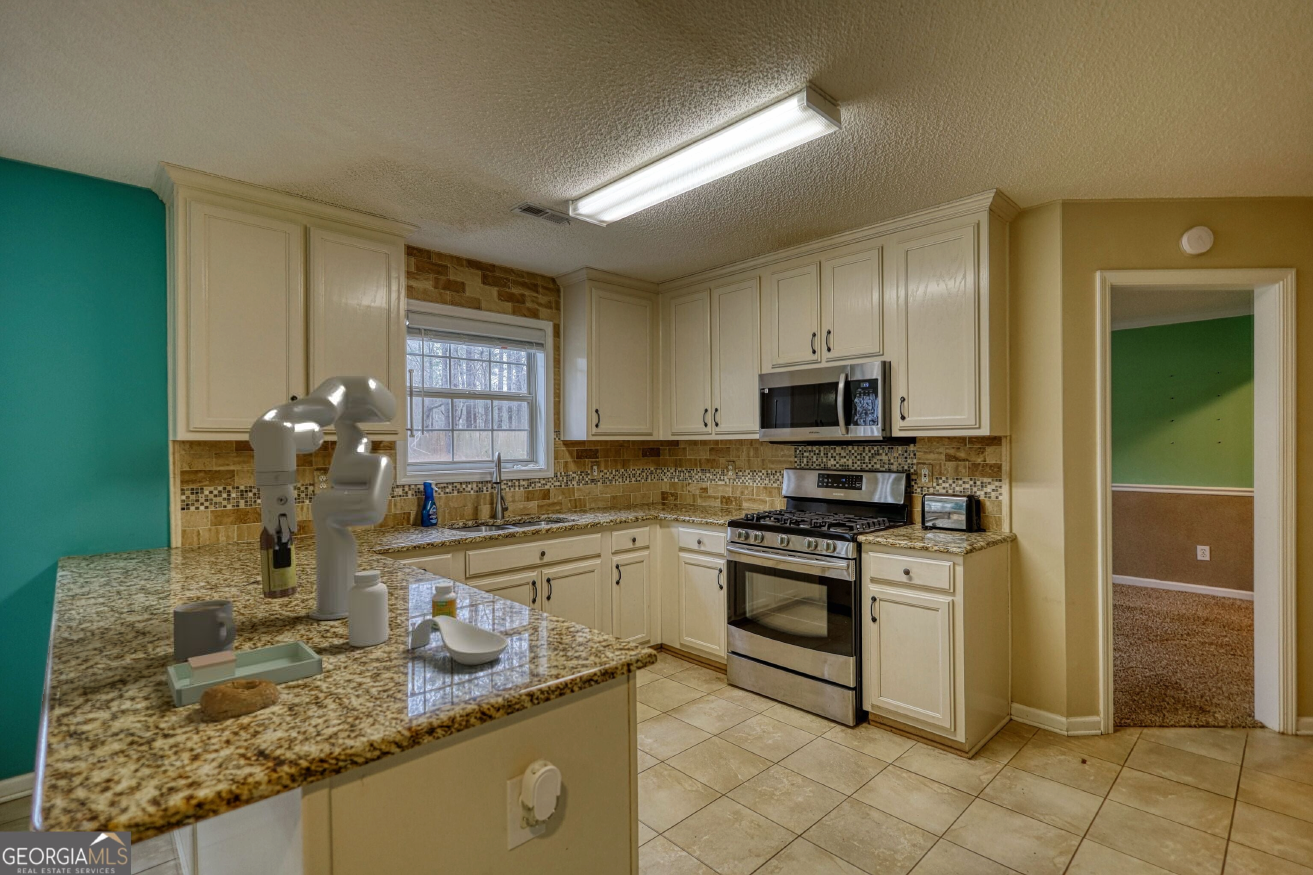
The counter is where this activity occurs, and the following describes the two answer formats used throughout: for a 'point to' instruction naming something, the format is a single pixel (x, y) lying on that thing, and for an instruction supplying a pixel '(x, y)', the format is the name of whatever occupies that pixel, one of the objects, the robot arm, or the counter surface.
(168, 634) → the counter surface
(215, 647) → the coffee mug
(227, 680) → the pale green tray
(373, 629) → the pill bottle
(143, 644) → the counter surface
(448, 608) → the supplement bottle
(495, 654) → the spoon rest
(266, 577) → the sauce bottle
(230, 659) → the pink lidded box
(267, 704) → the bagel
